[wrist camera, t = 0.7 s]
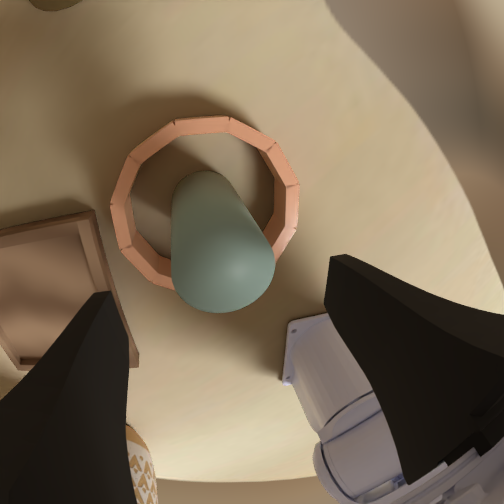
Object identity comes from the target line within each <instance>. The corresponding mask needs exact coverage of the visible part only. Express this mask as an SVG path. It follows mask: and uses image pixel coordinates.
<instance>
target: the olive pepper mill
mask: <svg viewBox="0 0 504 504" xmlns="http://www.w3.org/2000/svg"><path fill="white" fill-rule="evenodd" d="M29 1H30V2H31V3H32V4H33V5H34V6H35V7H36V8H38V9H41V10H43V11H58V10H61V9H64V8H68V7H71V6H73V5H75V4H77V3H78V2H80V1H82V0H29Z"/></svg>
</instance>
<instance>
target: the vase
mask: <svg viewBox="0 0 504 504" xmlns="http://www.w3.org/2000/svg"><path fill="white" fill-rule="evenodd" d="M126 440H127V449H128V458H129V465H130V471H131V477H132V482H133V487H134V491H135V496H136V500H137V504H158V498H157V486H156V476H155V471H154V465H153V461H152V458H151V455H150V452H149V450H148V448H147V446H146V444H145V442H144V441H143V440H142V438H141V437H140V436H139V435H138V434H137V432H135V431H134V430H133V429H132V428H131V427H129V426H127V425H126Z"/></svg>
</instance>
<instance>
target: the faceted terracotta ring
mask: <svg viewBox="0 0 504 504" xmlns="http://www.w3.org/2000/svg"><path fill="white" fill-rule="evenodd" d="M219 132H227V133H229V134H231V135H233V136H235V137H237V138H239V139H241V140H243V141H245V142H247V143H249V144H251V145H253V146H255V147H256V148H257V149H258V151H259V153H260V154H261V156H262V158H263V159H264V161H265V163H266V164H267V166H268V168H269V169H270V171H271V173H272V175H273V176H274V213H273V215H272V217H271V219H270V220H269V222H268V224H267V225H266V227H265V229H264V231H263V232H262V233H263V234H264V236H265V238H266V239H267V241H268V242H269V244H270V246H271V248H272V250H273V253H274V257H275V263H276V262H277V260H278V259H279V257H280V255H281V254H282V252H283V251H284V249H285V247H286V246H287V244H288V242H289V241H290V239H291V238H292V236H293V234H294V233H295V231H296V228H295V227H297V223H298V206H299V186H300V184H298V183H299V181H298V179H297V177H296V176H295V174H294V172H293V170H292V168H291V166H290V165H289V163H288V161H287V159H286V157H285V155H284V154H283V152H282V150H281V148H280V147H279V145H278V143H277V142H275V140H273V139H271V138H270V137H268V136H266V135H264V134H262V133H260V132H259V131H257V130H255V129H253V128H251V127H249V126H247V125H245V124H243V123H241V122H240V121H238V120H236V119H234V118H232V117H228V116H224V115H217V116H202V117H190V118H180V119H175V122H174V120H172V121H171V122H169V123H168V124H166V125H165V126H164V127H162V128H161V129H159V130H158V131H157V132H155V133H154V134H153V135H151V136H150V137H149V138H147V139H146V140H145V141H143V142H142V143H141V144H139V145H138V146H137V147H135V148H134V149H133V151H132V152H131V153H130V154H129V155H128V156H127V159H126V161H125V164H124V166H123V169H122V171H121V174H120V176H119V179H118V182H117V184H116V187H115V190H114V193H113V195H112V198H111V201H110V203H111V204H110V209H111V214H112V219H113V224H114V228H115V233H116V237H117V242H118V246H119V249H121V252H122V254H123V255H124V256H125V257H126V258H127V259H128V260H129V261H130V262H131V263H132V264H133V265H134V266H135V267H136V268H137V269H138V270H139V271H140V272H141V273H142V274H143V275H144V276H145V277H146V278H147V279H148V281H149V282H151V281H152V283H153V284H156V285H159V286H162V287H165V288H169V289H172V290H175V288H174V286H173V282H172V278H171V259H168V258H165V257H162V256H159V255H158V253H157V252H156V251H155V250H154V249H153V248H152V247H151V246H150V245H149V243H148V242H147V241H146V240H145V239H144V238H143V237H142V236H141V234H140V233H139V232H138V231H137V230H136V226H135V221H134V216H133V210H132V204H131V198H130V191H131V189H132V186H133V184H134V181H135V179H136V176H137V174H138V171H139V169H140V167H141V164H142V163H143V162H144V161H145V160H147V159H148V158H149V157H150V156H152V155H153V154H154V153H156V152H157V151H159V150H160V149H161V148H163V147H164V146H165V145H167V144H168V143H170V142H171V141H172V140H174V139H175V138H177V137H178V136H184V135H194V134H206V133H219ZM175 291H176V290H175Z"/></svg>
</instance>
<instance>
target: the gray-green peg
mask: <svg viewBox="0 0 504 504" xmlns="http://www.w3.org/2000/svg"><path fill="white" fill-rule="evenodd" d="M274 271H275V257H274V253H273V250H272V248H271V246H270V244H269V242H268V241H267V239H266V238H265V236H264V234H263V233H262V231H261V230H260V228H259V227H258V225H257V223H256V222H255V220H254V219H253V217H252V216H251V214H250V213H249V211H248V209H247V208H246V206H245V205H244V203H243V202H242V200H241V199H240V197H239V196H238V194H237V193H236V191H235V189H234V188H233V186H232V185H231V183H230V182H229V181H228V180H227V179H226V178H225V177H223V176H222V175H220V174H218V173H215V172H212V171H199V172H195V173H192V174H190V175H188V176H186V177H185V178H184V179H183V180H181V182H180V183H179V184H178V185H177V187H176V188H175V190H174V193H173V196H172V211H171V278H172V282H173V286H174V288H175V290H176V292H177V293H178V295H179V296H180V297H181V298H182V299H183V300H184V301H185V302H186V303H187V304H189V305H190V306H192V307H194V308H196V309H199V310H201V311H205V312H211V313H226V312H231V311H235V310H239V309H241V308H243V307H246V306H248V305H249V304H251V303H252V302H254V301H255V300H257V299H258V298H259V297H260V296H261V295H262V294H263V293H264V292H265V290H266V289H267V288H268V286H269V284H270V283H271V281H272V278H273V275H274Z"/></svg>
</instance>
